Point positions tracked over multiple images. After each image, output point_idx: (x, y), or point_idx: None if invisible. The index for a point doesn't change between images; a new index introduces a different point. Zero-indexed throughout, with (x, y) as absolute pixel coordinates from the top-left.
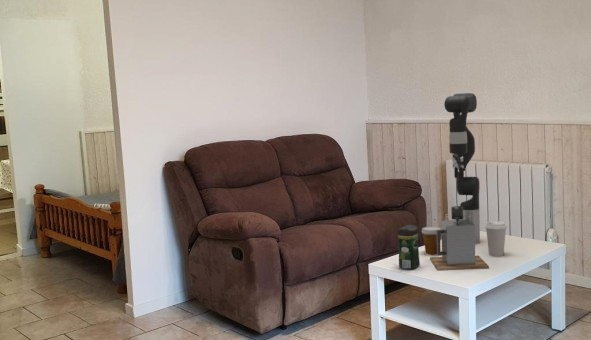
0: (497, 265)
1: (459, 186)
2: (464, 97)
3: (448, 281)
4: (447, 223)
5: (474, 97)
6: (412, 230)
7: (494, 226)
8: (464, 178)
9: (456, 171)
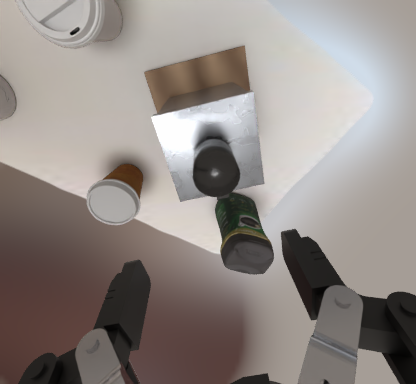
0: (214, 19)
1: None
2: None
3: (330, 136)
4: None
5: None
6: (268, 249)
7: (95, 5)
8: None
9: (135, 321)
